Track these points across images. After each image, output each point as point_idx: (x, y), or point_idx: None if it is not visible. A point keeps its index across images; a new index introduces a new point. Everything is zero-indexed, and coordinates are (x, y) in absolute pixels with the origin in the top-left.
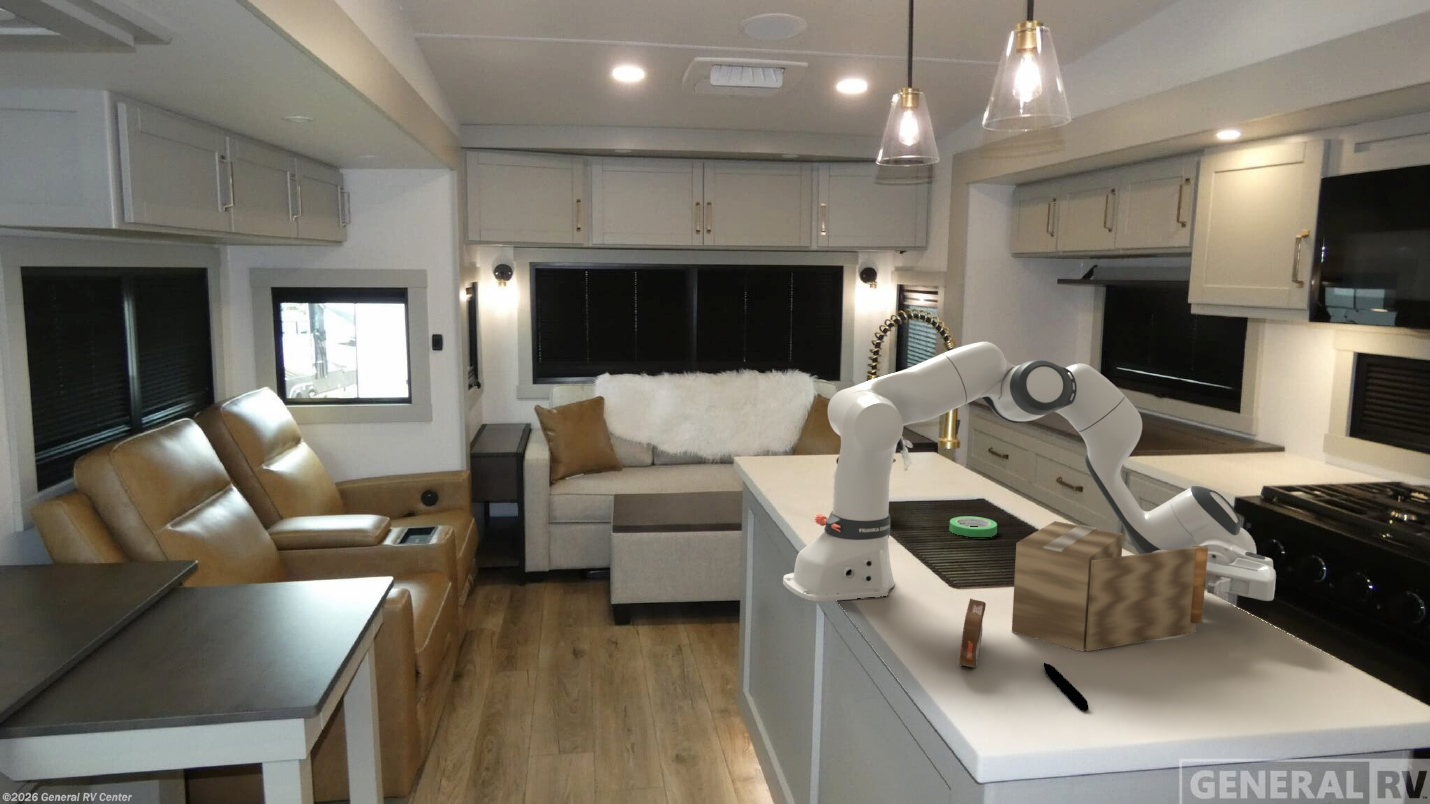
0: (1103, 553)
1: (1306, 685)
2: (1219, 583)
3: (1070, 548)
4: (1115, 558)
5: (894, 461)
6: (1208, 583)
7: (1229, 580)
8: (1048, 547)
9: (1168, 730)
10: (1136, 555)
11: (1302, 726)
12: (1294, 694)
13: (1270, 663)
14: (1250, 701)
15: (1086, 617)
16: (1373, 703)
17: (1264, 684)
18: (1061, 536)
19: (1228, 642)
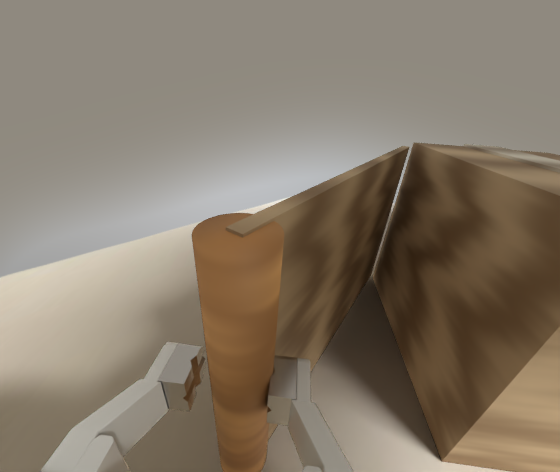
0: (449, 174)
1: (85, 311)
2: (151, 368)
3: (476, 151)
4: (392, 151)
5: None
6: (200, 347)
7: (73, 427)
8: (491, 146)
9: (260, 210)
10: (379, 158)
11: (155, 236)
12: (125, 281)
13: (98, 372)
14: (190, 253)
15: (386, 240)
16: (8, 300)
17: (155, 290)
18: None
19: (149, 468)
